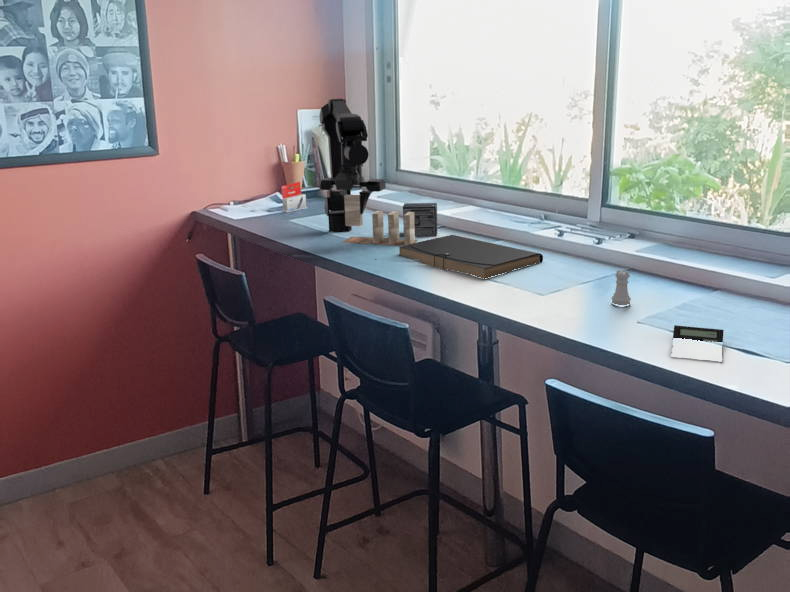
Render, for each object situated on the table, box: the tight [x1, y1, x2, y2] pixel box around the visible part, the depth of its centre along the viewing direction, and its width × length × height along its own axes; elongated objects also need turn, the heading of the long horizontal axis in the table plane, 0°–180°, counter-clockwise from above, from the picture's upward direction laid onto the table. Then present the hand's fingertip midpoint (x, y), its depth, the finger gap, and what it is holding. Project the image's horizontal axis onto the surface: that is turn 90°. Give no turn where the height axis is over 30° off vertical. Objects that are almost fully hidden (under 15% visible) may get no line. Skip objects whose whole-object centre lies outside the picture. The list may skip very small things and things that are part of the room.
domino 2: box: [371, 210, 385, 243], centre depth 248 cm, size 2×5×9 cm, turn 162°
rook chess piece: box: [611, 269, 632, 305], centre depth 187 cm, size 4×4×8 cm
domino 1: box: [344, 194, 364, 227], centre depth 240 cm, size 2×5×9 cm, turn 72°
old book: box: [398, 234, 544, 280], centre depth 228 cm, size 33×4×24 cm
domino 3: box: [387, 210, 400, 244], centre depth 247 cm, size 2×5×9 cm, turn 162°
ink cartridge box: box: [280, 181, 307, 213], centre depth 302 cm, size 2×11×10 cm, turn 147°
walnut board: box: [342, 236, 419, 247], centre depth 249 cm, size 22×8×1 cm, turn 72°
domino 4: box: [403, 212, 416, 245], centre depth 245 cm, size 2×5×9 cm, turn 162°
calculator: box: [672, 325, 724, 343], centre depth 160 cm, size 9×12×3 cm
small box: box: [402, 202, 438, 238], centre depth 255 cm, size 11×6×10 cm, turn 84°
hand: (353, 213), depth 240 cm, fingers closed on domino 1, 5 cm apart
